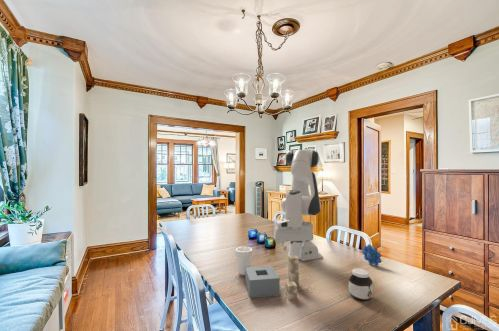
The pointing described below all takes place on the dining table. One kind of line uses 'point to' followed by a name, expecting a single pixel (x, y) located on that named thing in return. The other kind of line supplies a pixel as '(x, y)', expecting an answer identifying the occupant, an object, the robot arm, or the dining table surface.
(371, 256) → the grapes
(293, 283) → the short pin
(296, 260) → the long pin
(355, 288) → the spread jar
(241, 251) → the foam cup
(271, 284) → the hole block
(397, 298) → the dining table surface
